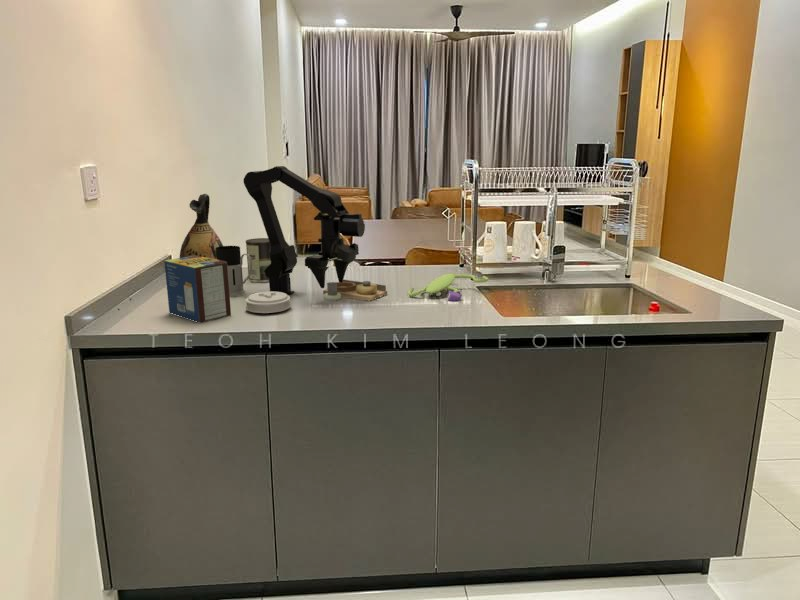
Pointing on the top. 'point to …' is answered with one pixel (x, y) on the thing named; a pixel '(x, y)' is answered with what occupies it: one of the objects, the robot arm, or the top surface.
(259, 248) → the printed mug
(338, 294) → the planet gear
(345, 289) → the carrier board
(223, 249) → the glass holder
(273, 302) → the lid
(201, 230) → the ceramic jug
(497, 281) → the top surface
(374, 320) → the top surface
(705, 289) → the top surface
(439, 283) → the figurine
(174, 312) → the protein box
